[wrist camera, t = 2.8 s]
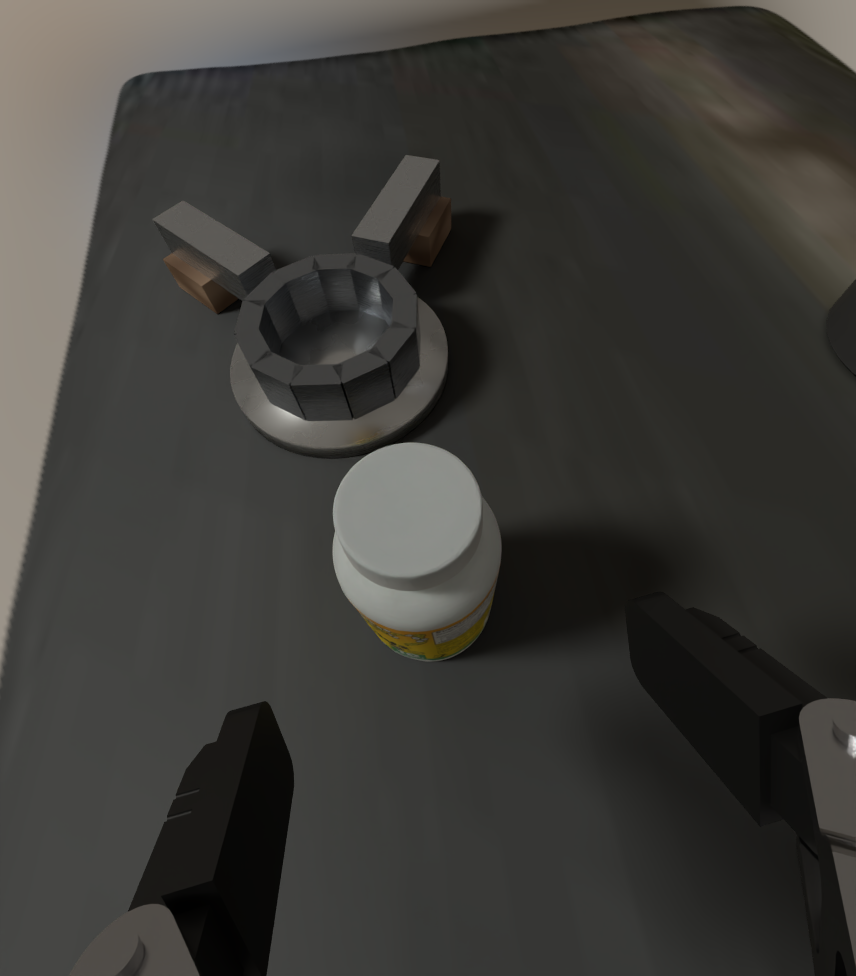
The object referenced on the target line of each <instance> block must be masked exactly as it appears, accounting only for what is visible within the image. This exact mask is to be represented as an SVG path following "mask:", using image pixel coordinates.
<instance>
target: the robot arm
mask: <svg viewBox="0 0 856 976" xmlns="http://www.w3.org/2000/svg"><path fill="white" fill-rule="evenodd" d="M826 323H827V335H828V338H829V341H830V344H831V346H832V348H833V349H834V351H835V353H836V354H837V356H838V357H839V359H840V360H841V361H842V362H843V363H844V364H845V365H846V366H847V367H848V368H849V370H850V371H851V372H852V373H854V374H855V375H856V279H855V280H854V282H853V283H852V284H851V285H850V286H849V287H848V289H847V290H846V291H845V292H844V293H843V294H842V296H841V297H840V298H839V299H838V300H837V301H836V303H835V304H834V305H833V307H832V308H831V309H830V311H829V314H828V317H827V320H826ZM625 613H626V623H627V632H628V641H629V650H630V659H631V663H632V667H633V669H634V672H635V674H636V676H637V678H638V680H639V682H640V684H641V685H642V686H643V688H644V689H645V690H646V691H647V693H648V694H649V695H650V696H651V697H652V699H653V700H654V701H655V702H656V703H657V704H658V706H659V707H660V708H661V709H662V710H663V712H664V713H665V714H666V715H667V716H668V718H669V719H670V720H671V721H672V722H673V724H674V725H675V726H676V727H677V728H678V729H679V731H680V732H681V733H682V734H683V735H684V737H685V738H686V739H687V740H688V741H689V743H690V744H691V745H692V746H693V747H694V748H695V750H696V751H697V752H698V753H699V754H700V756H701V757H702V758H703V759H704V760H705V762H706V763H707V764H708V765H709V766H710V767H711V769H712V770H713V771H714V772H715V773H716V775H717V776H718V777H719V778H720V779H721V781H722V782H723V783H724V784H725V785H726V786H727V788H728V789H729V790H730V791H731V792H732V794H733V795H734V796H735V797H736V798H737V800H738V801H739V802H740V803H741V804H742V805H743V807H744V808H745V809H746V810H747V811H748V813H749V814H750V815H751V816H752V817H753V819H754V820H755V821H756V822H757V823H758V824H759V826H760V827H761V826H764V825H767V824H770V823H773V822H776V821H779V820H782V819H784V820H785V821H786V822H787V823H788V824H789V825H790V826H791V827H792V829H793V830H794V831H795V832H796V847H797V854H798V861H799V867H800V874H801V881H802V888H803V895H804V902H805V909H806V916H807V923H808V930H809V937H810V944H811V950H812V957H813V965H814V973H815V976H856V701H852V700H847V699H832V698H829V699H828V698H826V697H825V696H824V695H822V694H821V693H820V692H818V691H817V690H816V689H814V688H813V687H812V686H810V685H809V684H808V683H806V682H805V681H804V680H802V679H801V678H800V677H798V676H797V675H796V674H794V673H793V672H792V671H790V670H789V669H788V668H786V667H785V666H783V665H782V664H781V663H779V662H778V661H777V660H775V659H774V658H773V657H771V656H770V655H769V654H767V653H766V652H765V651H763V650H762V649H758V648H757V646H756V645H755V644H754V643H753V642H751V641H750V640H749V639H747V638H746V637H745V636H741V635H740V634H739V632H738V631H736V630H735V629H734V628H732V627H731V626H730V625H728V624H727V623H726V622H724V621H723V620H722V619H720V618H719V617H716V616H714V615H711V614H709V613H706V612H704V611H701V610H699V609H696V608H689V609H686V610H685V609H684V608H683V607H681V606H680V605H679V604H678V603H676V602H675V601H674V600H673V599H671V598H670V597H669V596H667V595H666V594H665V593H663V592H657V593H653V594H650V595H646V596H642V597H639V598H635V599H632V600H628V601H627V602H626V605H625ZM293 790H294V772H293V765H292V760H291V757H290V754H289V751H288V749H287V746H286V744H285V741H284V739H283V736H282V734H281V731H280V729H279V726H278V724H277V721H276V718H275V716H274V713H273V711H272V709H271V706H270V705H269V704H268V702H266V701H264V702H260V703H257V704H253V705H250V706H246V707H242V708H239V709H235V710H232V711H229V712H228V713H227V715H226V717H225V720H224V722H223V725H222V728H221V731H220V733H219V736H218V739H217V742H213V743H210V744H206V745H205V746H204V747H203V748H202V750H201V751H200V752H199V753H198V755H197V756H196V757H195V759H194V760H193V761H192V762H191V764H190V765H189V766H188V767H187V769H186V771H185V773H184V776H183V778H182V781H181V783H180V786H179V788H178V790H177V793H176V799H175V800H173V803H172V805H171V808H170V810H169V812H168V815H167V821H166V822H164V825H163V827H162V830H161V832H160V834H159V837H158V839H157V842H156V844H155V847H154V849H153V852H152V854H151V856H150V859H149V861H148V864H147V866H146V869H145V871H144V874H143V876H142V878H141V881H140V883H139V886H138V888H137V891H136V893H135V895H134V898H133V900H132V903H131V905H130V908H129V910H128V912H127V913H125V914H124V915H122V916H121V917H119V918H118V919H116V920H115V921H114V922H112V923H111V924H110V925H109V926H107V927H106V928H105V929H104V930H103V931H102V932H101V933H100V934H99V935H98V936H97V937H96V938H95V939H94V940H93V941H92V942H91V944H90V945H89V946H88V947H87V949H86V950H85V951H84V952H83V954H82V955H81V957H80V958H79V960H78V961H77V963H76V964H75V966H74V967H73V969H72V971H71V973H70V975H69V976H266V974H267V968H268V961H269V954H270V947H271V940H272V934H273V927H274V920H275V913H276V906H277V899H278V893H279V886H280V879H281V872H282V865H283V859H284V852H285V845H286V838H287V831H288V824H289V818H290V811H291V804H292V797H293Z"/></svg>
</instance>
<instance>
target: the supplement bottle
mask: <svg viewBox="0 0 856 976" xmlns="http://www.w3.org/2000/svg"><path fill="white" fill-rule="evenodd" d="M333 520H334V526H335V535H334V540H333V562H334V568H335V572H336V575H337V578H338V581H339V583H340V585H341V588H342V590H343V592H344V594H345V595H346V597H347V598H348V600H349V601H350V602H351V603H352V604H353V606H354V607H355V608H356V609H357V610H358V612H359V613H360V614H361V615H362V617H363V618H364V619H365V620H366V622H367V623H368V625H369V626H370V627H371V628H372V629H373V631H374V632H375V633H376V634H377V635H378V637H379V638H380V639H381V640H382V641H383V642H384V643H385V644H386V645H387V646H388V647H389V648H391V649H392V650H393V651H395V652H397V653H399V654H401V655H403V656H406V657H409V658H412V659H416V660H421V661H440V660H445V659H448V658H451V657H454V656H456V655H457V654H459V653H461V652H463V651H464V650H465V649H467V648H468V647H469V646H470V645H471V644H472V643H473V642H474V641H475V640H476V639H477V638H478V636H479V635H480V634H481V632H482V630H483V628H484V627H485V625H486V622H487V620H488V617H489V614H490V610H491V605H492V601H493V597H494V592H495V587H496V583H497V578H498V574H499V568H500V563H501V551H502V544H501V536H500V531H499V527H498V524H497V521H496V518H495V516H494V514H493V512H492V510H491V509H490V507H489V505H488V504H487V502H486V501H485V500H484V498H483V497H482V495H481V492H480V489H479V486H478V483H477V481H476V479H475V477H474V475H473V474H472V472H471V471H470V470H469V469H468V467H467V466H466V465H465V464H464V463H463V462H462V461H461V460H460V459H458V458H457V457H456V456H455V455H453V454H451V453H450V452H448V451H446V450H444V449H441V448H439V447H436V446H433V445H429V444H423V443H400V444H393V445H390V446H386V447H383V448H381V449H378V450H376V451H374V452H372V453H370V454H368V455H367V456H365V457H364V458H363V459H361V460H360V461H359V462H357V463H356V464H355V465H354V466H353V467H352V468H351V469H350V471H349V472H348V473H347V474H346V476H345V477H344V479H343V480H342V482H341V484H340V486H339V488H338V490H337V493H336V496H335V499H334V507H333Z"/></svg>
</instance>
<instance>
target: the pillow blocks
mask: <svg viewBox="0 0 856 976" xmlns="http://www.w3.org/2000/svg"><path fill="white" fill-rule="evenodd" d="M450 230H451V198H446V197H440V199H439V200H438V202H437V204H436V205H435V207H434V209H433V211H432V212H431V214H430V216H429V218H428V219H427V221H426V223H425V224H424V226H423V228H422V230H421V231H420V233H419V235H418V236H417V238H416V240H415V242H414V243H413V245H412V247H411V248H410V250H409V252H408V254H407V255H406V257H405V259H404V262H409V263H414V264H418V265H423V266H428V267H431V266H432V264H433V262H434V260H435V258H436V256H437V255H438V253H439V251H440V249H441V247H442V245H443V243H444V242H445V240H446V238H447V236H448V234H449V232H450ZM163 260H164V262H165V264H166V265H167V267H168V268H169V270H170V272H171V273H172V275H173V277H174V278H175V280H176V281H177V283H178V285H179V286H180V288H182V289H183V290H184V291H186V292H187V293H189V294H190V295H191V296H193V297H194V298H196V299H197V300H198V301H200V302H201V303H203V304H204V305H205V306H207V307H208V308H210V309H211V310H212V311H214V312H215V313H217V314H218V313H220V312H221V311H223V310H224V309H225V308H227V307H228V306H229V305H231V304H232V303H234V302H235V301H236V300H238V299H239V298H237V297H236V296H234V295H233V294H231V293H230V292H228V291H227V290H225V289H224V288H222V287H221V286H219V285H218V284H217V283H215V282H214V281H212V280H211V279H209V278H208V277H206V276H205V275H203V274H202V273H200V272H199V271H197V270H196V269H195V268H193V267H192V266H190V265H189V264H187V263H186V262H184V261H183V260H181V259H180V258H178V257H177V256H175V255H174V254H170V255H169V256H167V257H166V258H164V259H163Z"/></svg>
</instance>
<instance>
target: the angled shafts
mask: <svg viewBox="0 0 856 976" xmlns="http://www.w3.org/2000/svg"><path fill="white" fill-rule="evenodd" d="M440 197H441V192H440V160H434V159H428V158H422V157H415V156H409V155H406V156H405V157H404V159H403V160H402V162H401V163H400V165H399V166H398V168H397V169H396V170H395V172H394V173H393V175H392V176H391V178H390V179H389V181H388V182H387V184H386V185H385V187H384V188H383V190H382V191H381V193H380V194H379V196H378V197H377V199H376V200H375V202H374V203H373V205H372V206H371V208H370V209H369V211H368V212H367V214H366V215H365V216H364V218H363V219H362V221H361V222H360V224H359V225H358V227H357V228H356V230H355V231H354V233H353V234H352V240H353V245H354V250H355V253H357V254H358V253H359V254H361V255H364V256H367V257H370V258H372V259H375V260H378V261H381V262H384V263H386V264H389V265H392V266H394V268H395V267H396V269H397V270H398V269H399V267H400V266H401V264H402V262H403V261H404V259H405V257H406V255H407V254H408V252H409V250H410V248H411V247H412V245H413V243H414V242H415V240H416V238H417V236H418V235H419V233H420V231H421V230H422V228H423V226H424V224H425V223H426V221H427V219H428V218H429V216H430V214H431V212H432V211H433V209H434V207H435V205H436V204H437V202H438V200H439V199H440ZM152 220H153V222H154V223H155V225H156V227H157V228H158V230H159V232H160V234H161V235H162V237H163V239H164V240H165V242H166V244H167V245H168V247H169V249H170V250H171V252H172V254H174V255H175V256H177V257H178V258H180V259H181V260H183V261H184V262H186V263H187V264H189V265H190V266H192V267H193V268H195V269H196V270H197V271H199V272H200V273H202V274H203V275H205V276H206V277H208V278H209V279H211V280H212V281H214V282H215V283H217V284H218V285H219V286H221V287H222V288H224V289H225V290H227V291H228V292H230V293H231V294H233V295H234V296H236V297H237V298H239V299H240V300H242V301H244V298H245V297H246V296H247V295H249V294H250V293H251V292H252V291H253V290H254V289H255V288H256V287H257V286H258V285H259V284H260V283H261V282H262V281H263V280H264V279H265V278H266V277H267V276H268V275H269V274H270V273H271V272H272V273H274V272H273V271H275V270H276V268H275V266H274V263H273V261H272V258H271V255H270V253H268V252H267V251H265V250H263V249H262V248H260V247H259V246H257V245H255V244H254V243H252V242H250V241H249V240H247V239H245V238H244V237H242V236H240V235H239V234H237V233H236V232H234V231H232V230H231V229H229V228H227V227H226V226H224V225H222V224H221V223H219V222H217V221H216V220H214V219H212V218H211V217H209V216H208V215H206V214H204V213H203V212H201V211H199V210H198V209H196V208H194V207H193V206H191V205H189V204H188V203H186V202H185V201H181V202H180V203H178V204H177V205H175V206H173V207H172V208H170V209H168V210H167V211H165V212H163V213H162V214H160V215H159V216H157V217H155V218H154V219H152Z"/></svg>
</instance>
